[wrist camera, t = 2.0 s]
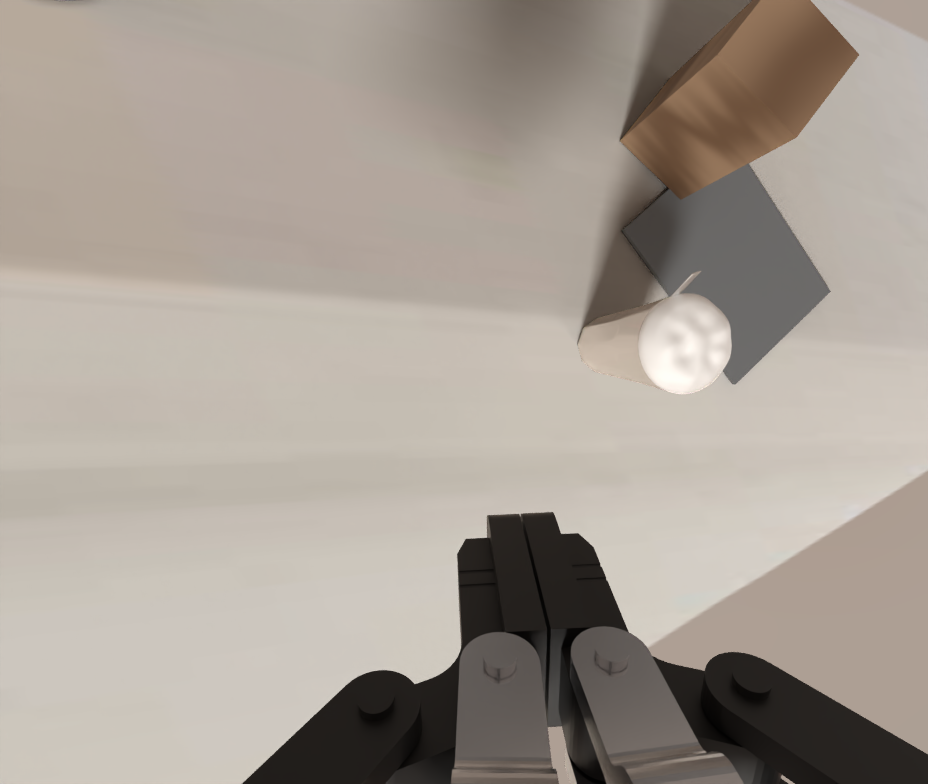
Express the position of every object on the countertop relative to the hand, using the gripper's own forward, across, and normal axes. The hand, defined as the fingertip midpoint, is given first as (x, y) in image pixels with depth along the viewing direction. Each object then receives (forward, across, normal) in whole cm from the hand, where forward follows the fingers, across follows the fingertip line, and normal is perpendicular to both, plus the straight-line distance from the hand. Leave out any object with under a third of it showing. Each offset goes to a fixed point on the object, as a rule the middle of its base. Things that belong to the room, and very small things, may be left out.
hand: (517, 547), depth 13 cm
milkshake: (+22, -8, +2) cm, 23 cm away
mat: (+24, -16, -2) cm, 29 cm away
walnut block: (+25, -13, -9) cm, 30 cm away
